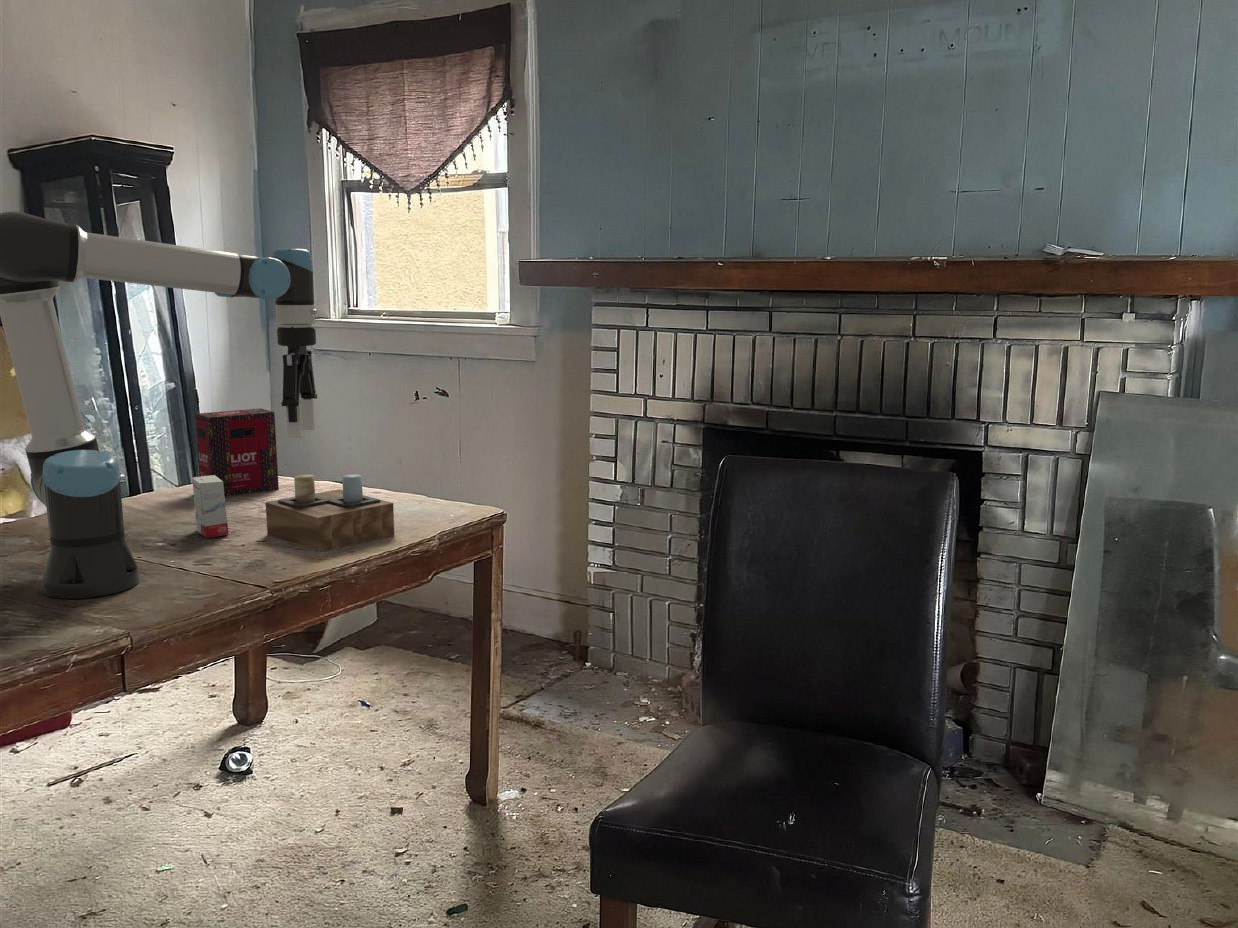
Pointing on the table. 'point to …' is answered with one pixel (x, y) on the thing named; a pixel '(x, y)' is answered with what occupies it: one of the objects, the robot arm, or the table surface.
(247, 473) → the box
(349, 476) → the slate peg front
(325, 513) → the walnut block
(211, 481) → the ink box
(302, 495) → the birch peg rear
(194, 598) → the table surface
